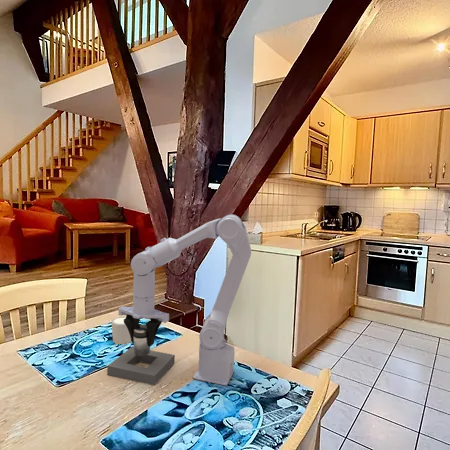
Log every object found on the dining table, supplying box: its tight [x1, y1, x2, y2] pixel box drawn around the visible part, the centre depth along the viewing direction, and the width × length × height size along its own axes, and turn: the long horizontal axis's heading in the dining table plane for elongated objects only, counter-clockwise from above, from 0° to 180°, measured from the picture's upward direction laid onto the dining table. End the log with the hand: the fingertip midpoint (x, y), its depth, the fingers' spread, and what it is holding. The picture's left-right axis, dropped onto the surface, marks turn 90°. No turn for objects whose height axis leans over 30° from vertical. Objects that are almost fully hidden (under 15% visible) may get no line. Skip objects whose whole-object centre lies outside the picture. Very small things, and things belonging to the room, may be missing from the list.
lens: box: [133, 323, 151, 356], centre depth 92 cm, size 4×4×7 cm
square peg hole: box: [106, 346, 176, 386], centre depth 93 cm, size 14×12×2 cm
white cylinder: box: [111, 316, 132, 346], centre depth 110 cm, size 7×7×7 cm
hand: (142, 343), depth 93 cm, fingers closed on lens, 4 cm apart
